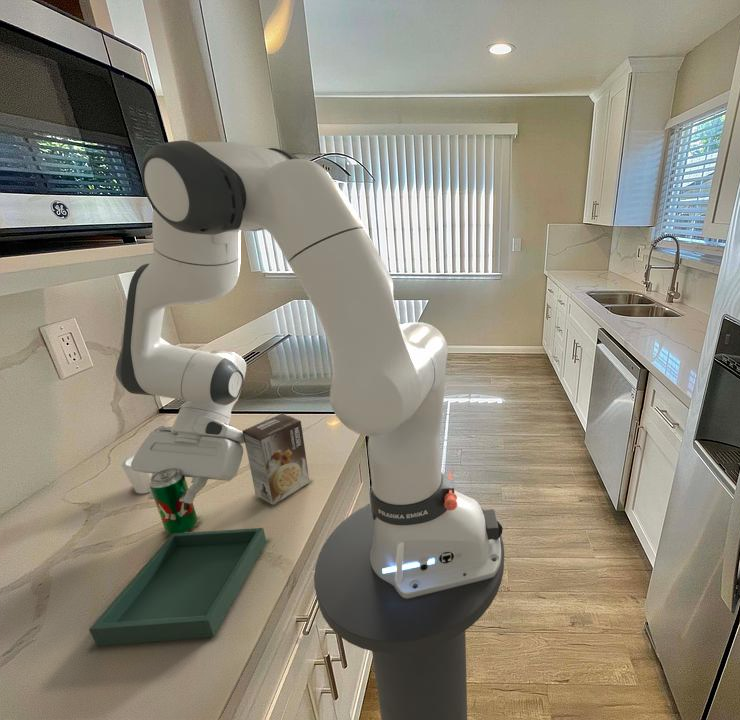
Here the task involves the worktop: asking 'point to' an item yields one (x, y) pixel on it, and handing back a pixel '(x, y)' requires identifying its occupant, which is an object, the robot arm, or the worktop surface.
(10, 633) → the worktop surface
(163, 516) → the soda can
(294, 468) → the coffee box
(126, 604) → the tray
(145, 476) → the white cup
